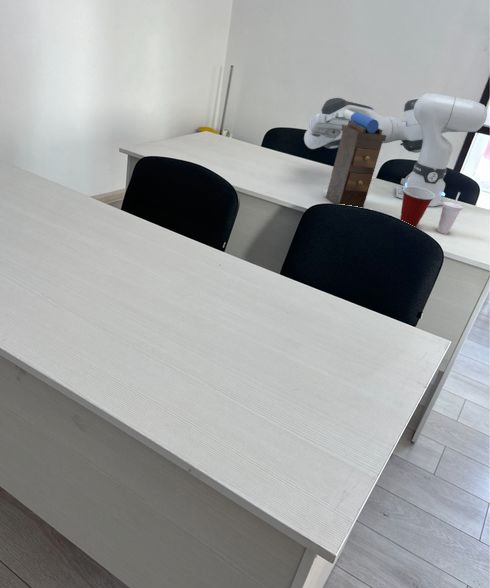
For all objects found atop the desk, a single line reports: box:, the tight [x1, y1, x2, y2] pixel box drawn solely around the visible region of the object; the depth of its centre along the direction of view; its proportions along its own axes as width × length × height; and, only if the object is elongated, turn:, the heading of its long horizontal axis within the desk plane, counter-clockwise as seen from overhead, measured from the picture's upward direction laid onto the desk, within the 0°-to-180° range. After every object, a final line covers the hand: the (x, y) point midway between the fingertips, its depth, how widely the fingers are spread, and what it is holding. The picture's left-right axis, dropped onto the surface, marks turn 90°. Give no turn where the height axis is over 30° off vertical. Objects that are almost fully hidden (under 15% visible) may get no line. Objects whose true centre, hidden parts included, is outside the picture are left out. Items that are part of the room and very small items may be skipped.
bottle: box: [343, 110, 379, 133], centre depth 204 cm, size 20×4×4 cm, turn 15°
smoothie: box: [436, 191, 463, 235], centre depth 198 cm, size 6×6×14 cm
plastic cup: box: [399, 186, 435, 228], centre depth 199 cm, size 11×11×12 cm
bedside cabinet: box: [325, 121, 387, 208], centre depth 206 cm, size 14×11×28 cm
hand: (348, 116), depth 211 cm, fingers open, 8 cm apart
